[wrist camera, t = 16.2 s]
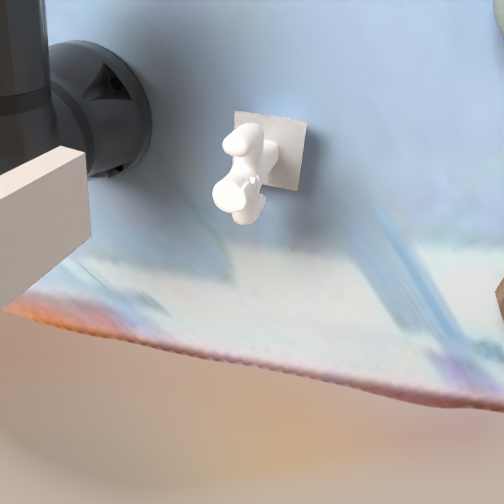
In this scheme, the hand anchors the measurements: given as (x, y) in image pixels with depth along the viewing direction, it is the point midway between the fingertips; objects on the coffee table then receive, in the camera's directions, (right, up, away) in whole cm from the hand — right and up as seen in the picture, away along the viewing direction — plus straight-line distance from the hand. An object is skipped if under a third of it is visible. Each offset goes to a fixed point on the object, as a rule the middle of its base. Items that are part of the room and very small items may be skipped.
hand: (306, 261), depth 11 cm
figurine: (+1, +12, +35) cm, 37 cm away
